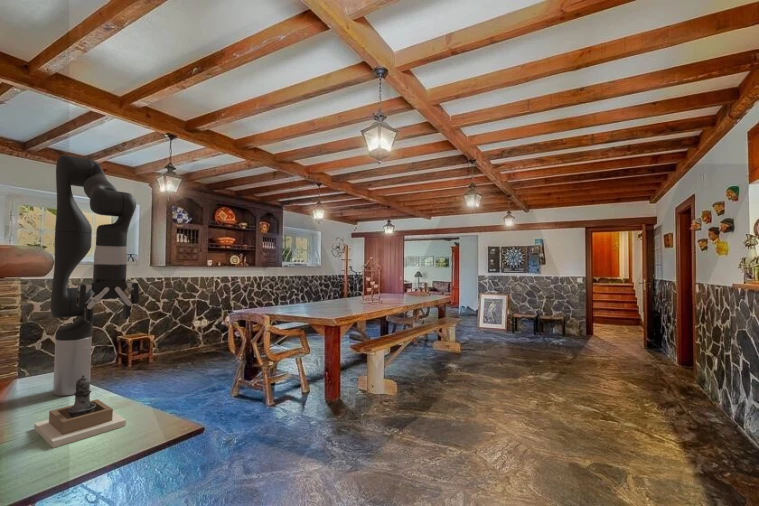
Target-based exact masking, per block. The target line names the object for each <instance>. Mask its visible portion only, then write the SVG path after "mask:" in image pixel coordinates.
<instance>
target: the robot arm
mask: <svg viewBox="0 0 759 506" xmlns="http://www.w3.org/2000/svg"><path fill="white" fill-rule="evenodd" d="M55 183H56V184H55V185H56V187H55V188H56V212H55V213H56V215H55V225H54V226H55V227H54V263H53V264H54V265H53V276H52V277H53V278H52V286H51V287H52V288H51V295H50V313H51V315H52V317H54V318H58V319H59V318H60V319H61V318H72V317H74V318H75V317H78V319H77V320H75V321H74V322H73V323H70V324H68V325H65V326H63V327H60V328H58V329H57V330H55V335H54V336H55V337H54V341H55V342H54V365H53V386H52V387H53V388H52V389H53V390H52V394H53V395H54V396H59V397H60V396H61V397H62V396H73V395H74V393H75V392H76V382H77V381H78V380H79V379H81V378H82V376H83V375H84V376H85V377H84V378H88V379H89V380H90V381H91V369H92V367H91V366H92V344H93V343H92V340H93V339H92V338H93V337H92V336H93V328H94V327H93V323H94V314H95V313H94V312H95V305H96V304H97V303H99V302H100V300H103V301H104V300H105V301H106V300H109V299H113V300H116V299H118V300H120V302H121V303H122V304H123V305H122V319H123V320H129V318H130V317H131V314H132V306H133V305H135V304H138V303H139V301H140V299H139V297H140V294H139V291H140V290H139V283H138V282H133V281H132V282H128V283H127V267H128V266H127V264H128V252H127V251H128V249H127V246H128V245H127V240H128V231H129V228H130V225H131V223H132V222H131V221H132V218H133V216H134V214H135V211H136V208H137V202H136V198H135V197H134V195H133V194H131V193H129V192H125V191H118V189H117V188H116V187H115V185H114V184H112V183H111V182H110V181H108V179H107V177H106V174H105V172H104V170H103V168H102V167H101V165H100V164H99V163H98V162H97V161H95V160H93V159H88V158H83V157H77V156H73V155H66V154H62V155H60V156H59V157H58V158H57V161H56V165H55ZM72 186H73V187H80V188H83V191H84V193H85V195H86V196H87V198H88V199H89V208H90V210H91V211H92V212H93V213H95V214H96V215H99V216H105V217H106V216H107V217H117V219H116V221H115V222H113V223H107V224H100V225H98V226H97V228H96V232H95V249H94V253H93V268H92V269H93V272H92V273H93V275H92V283H90V284H83V283H79V284H78V285H77V287H67V285H68V281H69V278H70V277H71V275H72V273H73V272H74V270H75V269H76V267H77V266H78V265H79V264H80V263H81V262H82V261H83V259H85V257H86V255H87V254H88V253H89V251H91V248H92V235H93V232H92V231H93V229H92V225H91V223H90V222H89V220H88V218H87V217H86V215H85V214H84V213H83V211H82V210H81V208H80V207H79V205H78V204H77V202H76V200H75V198H74V195H73V191H72ZM127 288H128V290H129V291H130V299H129V297H128V296H127V295H126V294H125V291H126V290H127Z"/></svg>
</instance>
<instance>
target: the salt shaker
mask: <svg viewBox="0 0 759 506" xmlns="http://www.w3.org/2000/svg"><path fill="white" fill-rule="evenodd" d="M84 377H85V376H84V375H83V376H82V378H81V379H79V380H78V381H77V382H76V392H75V393H74V394H73V395H74V403H73V405H74V406H72V407H70V408H68V410H67V411H68V412H69V415H70V417H71V418H74V417H78V416H82V415H85V414H89V413H93V411H94V409H95V407H96V404H94V403H90V401H91V399H90V398H91V397H90V396H91V393H92V390H90V387H91V379H90V380H89V379H88V378H84Z"/></svg>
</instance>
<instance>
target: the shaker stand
mask: <svg viewBox="0 0 759 506" xmlns="http://www.w3.org/2000/svg"><path fill="white" fill-rule="evenodd" d="M90 403H94V404H96V407H95V409H94V411H93V413H89V414H85V415H82V416H78V417H74V418H71V417H70V415H69V412H68V411H67V410H68V408H70V407H72V406H74V404H72V405H67V406H64V407H60V408H56V409H51V410H49V412H48V419H45V420H42V421H37V422H34V424H33V429H34V428H35V429H34V431H35V432H37V433H38V434H40V435H41V436H42V437H41V438H42V439H43V440H44V441H45V442H46V443H47V444H48V445H49V446H50V447H51V448H52V449H54V448H57V447H61V446H64V445H67V444H70V443H74V442H76V441H77V442H78V441H80V440H83V439H86V438H90V437H93V436H96V435H99V434H103V433H106V432H109V431H113V430H116V429H119V428H124V427H125V426H126V427H127V419H125V418H124V417H122V416H121V415H119V414H118V413H116V412H115V411H114V409H113V408H112V407H111V406H109V405H107V404H106V403H104V402H103V401H101V400H100V399H97V398H96V399H93V400H90ZM40 435H39V436H40Z"/></svg>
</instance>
